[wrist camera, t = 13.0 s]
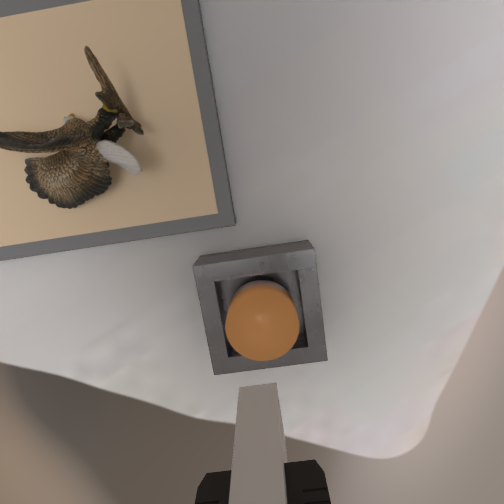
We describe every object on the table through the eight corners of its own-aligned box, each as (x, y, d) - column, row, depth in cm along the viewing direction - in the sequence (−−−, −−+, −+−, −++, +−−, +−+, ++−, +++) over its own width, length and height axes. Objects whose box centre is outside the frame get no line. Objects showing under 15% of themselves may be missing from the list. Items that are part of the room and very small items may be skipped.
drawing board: (193, -29, 23) (190, -38, 22) (235, 223, 26) (234, 225, 25) (-77, 23, 24) (-93, 16, 23) (-2, 259, 27) (-13, 262, 26)
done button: (290, 275, 24) (294, 287, 22) (299, 337, 25) (303, 355, 23) (223, 285, 25) (219, 297, 22) (234, 346, 26) (231, 365, 23)
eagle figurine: (83, 33, 22) (-52, 110, 21) (93, 55, 16) (-86, 157, 16) (152, 142, 27) (45, 205, 26) (176, 184, 22) (43, 263, 21)
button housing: (308, 239, 26) (314, 248, 24) (320, 340, 28) (327, 360, 25) (199, 255, 27) (192, 266, 24) (218, 353, 29) (214, 375, 26)
